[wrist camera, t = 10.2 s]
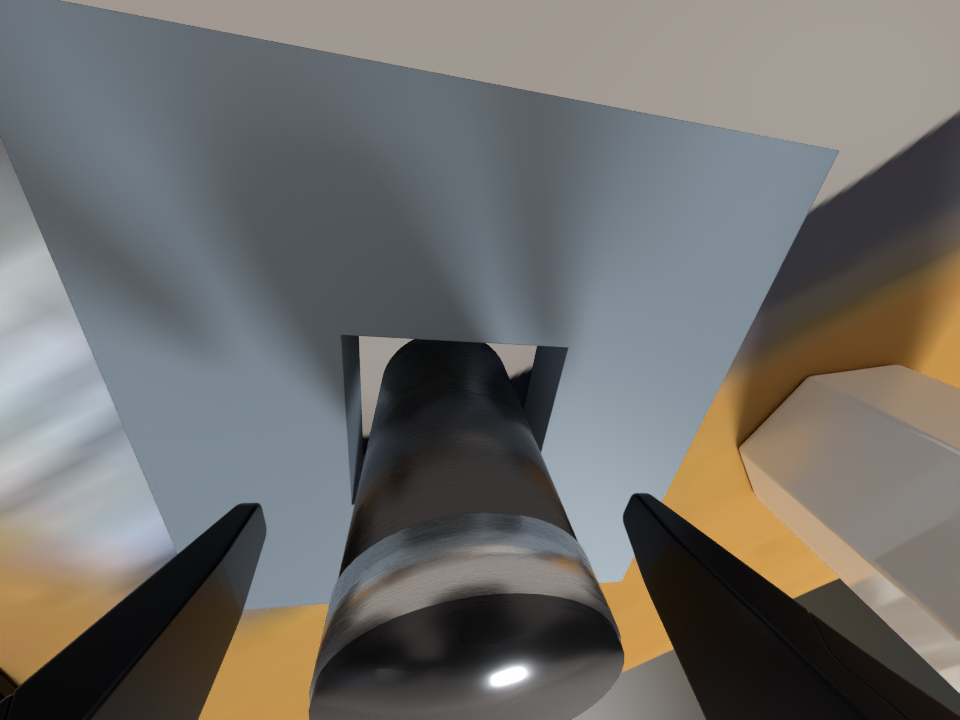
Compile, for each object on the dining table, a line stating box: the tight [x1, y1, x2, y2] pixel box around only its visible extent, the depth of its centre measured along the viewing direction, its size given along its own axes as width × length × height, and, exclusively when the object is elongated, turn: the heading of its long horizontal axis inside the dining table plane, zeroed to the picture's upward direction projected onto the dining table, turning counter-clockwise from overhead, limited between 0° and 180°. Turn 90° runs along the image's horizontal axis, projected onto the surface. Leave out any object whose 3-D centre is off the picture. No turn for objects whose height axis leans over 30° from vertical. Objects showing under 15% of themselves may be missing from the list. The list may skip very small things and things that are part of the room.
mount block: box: [0, 0, 839, 610], centre depth 12 cm, size 18×18×2 cm
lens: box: [309, 339, 624, 720], centre depth 9 cm, size 5×5×9 cm
